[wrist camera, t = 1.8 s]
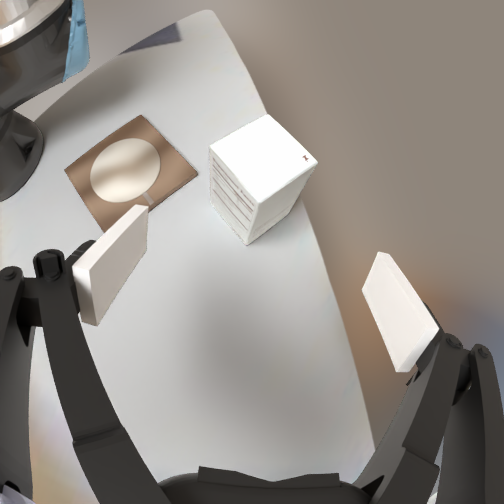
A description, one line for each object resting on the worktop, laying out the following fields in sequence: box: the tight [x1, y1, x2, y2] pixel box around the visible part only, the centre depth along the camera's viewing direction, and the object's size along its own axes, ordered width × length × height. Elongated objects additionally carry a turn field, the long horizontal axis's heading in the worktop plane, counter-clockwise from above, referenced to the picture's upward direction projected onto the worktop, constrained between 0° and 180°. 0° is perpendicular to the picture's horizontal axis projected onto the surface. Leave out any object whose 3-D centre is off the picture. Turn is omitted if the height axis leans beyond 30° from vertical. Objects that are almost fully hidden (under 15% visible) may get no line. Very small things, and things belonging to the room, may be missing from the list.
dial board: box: [65, 115, 197, 233], centre depth 36 cm, size 14×14×1 cm
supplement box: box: [209, 114, 318, 246], centre depth 31 cm, size 7×7×13 cm
